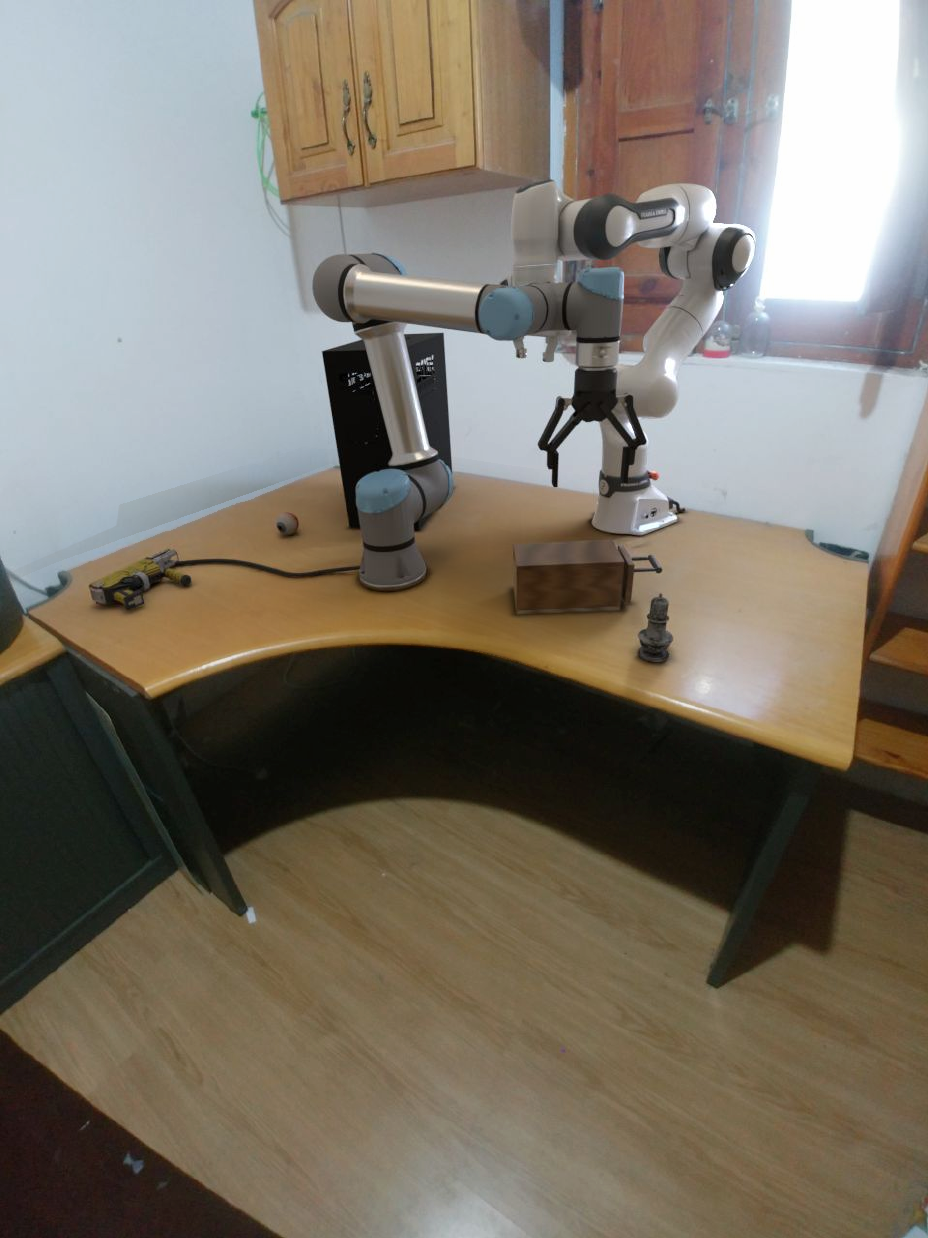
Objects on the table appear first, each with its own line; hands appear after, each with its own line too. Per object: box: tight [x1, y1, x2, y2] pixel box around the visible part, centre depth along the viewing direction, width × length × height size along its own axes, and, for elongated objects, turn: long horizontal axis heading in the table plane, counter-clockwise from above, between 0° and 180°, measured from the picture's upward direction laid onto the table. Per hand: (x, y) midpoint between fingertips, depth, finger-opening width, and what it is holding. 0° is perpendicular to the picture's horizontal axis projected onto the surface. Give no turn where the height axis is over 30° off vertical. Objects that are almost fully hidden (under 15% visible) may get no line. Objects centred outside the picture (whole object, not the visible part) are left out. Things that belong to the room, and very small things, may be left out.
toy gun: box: [88, 547, 192, 612], centre depth 139 cm, size 5×24×15 cm
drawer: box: [617, 544, 663, 605], centre depth 122 cm, size 25×10×9 cm, turn 89°
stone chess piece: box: [637, 592, 674, 663], centre depth 103 cm, size 6×6×12 cm
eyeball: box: [275, 511, 300, 536], centre depth 163 cm, size 6×6×6 cm
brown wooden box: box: [512, 539, 624, 615], centre depth 122 cm, size 21×11×11 cm, turn 89°
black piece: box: [321, 332, 453, 532], centre depth 169 cm, size 38×20×45 cm, turn 167°
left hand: (589, 483), depth 118 cm, fingers open, 13 cm apart
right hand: (534, 359), depth 124 cm, fingers open, 8 cm apart
